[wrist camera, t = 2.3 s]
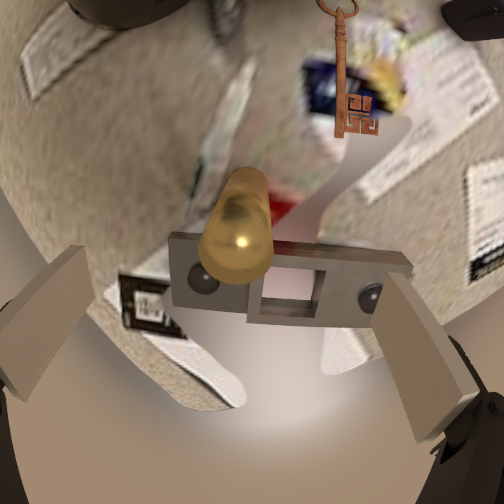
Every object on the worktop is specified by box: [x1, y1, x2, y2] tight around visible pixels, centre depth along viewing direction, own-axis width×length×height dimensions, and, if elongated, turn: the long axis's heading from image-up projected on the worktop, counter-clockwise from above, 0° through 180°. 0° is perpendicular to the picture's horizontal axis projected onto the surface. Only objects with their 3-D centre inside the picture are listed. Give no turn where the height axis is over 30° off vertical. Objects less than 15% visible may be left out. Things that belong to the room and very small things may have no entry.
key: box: [318, 0, 379, 138], centre depth 19 cm, size 6×1×15 cm
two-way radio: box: [443, 0, 504, 41], centre depth 9 cm, size 6×4×15 cm
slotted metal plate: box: [168, 232, 414, 328], centre depth 28 cm, size 8×24×4 cm, turn 85°
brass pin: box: [198, 167, 274, 285], centre depth 19 cm, size 4×4×13 cm
